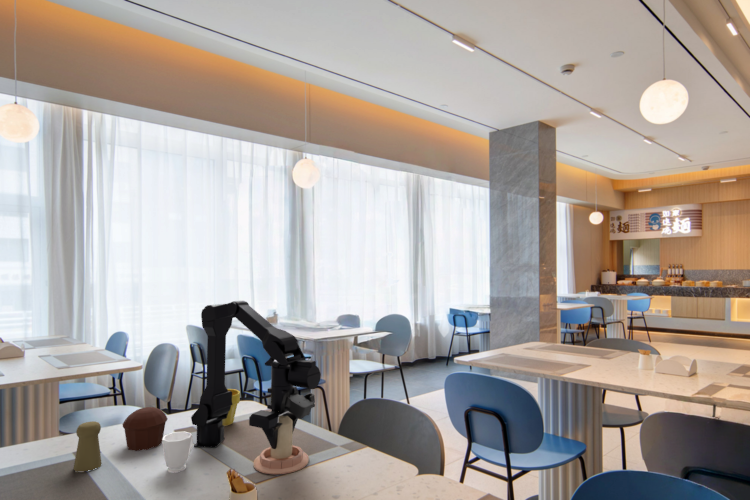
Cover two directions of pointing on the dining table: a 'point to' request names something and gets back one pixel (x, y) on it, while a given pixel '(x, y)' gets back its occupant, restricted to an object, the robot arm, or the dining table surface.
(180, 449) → the cup
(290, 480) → the dining table surface
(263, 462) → the candle dish
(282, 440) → the candle
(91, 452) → the cork
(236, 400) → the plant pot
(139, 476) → the dining table surface
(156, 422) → the muffin
